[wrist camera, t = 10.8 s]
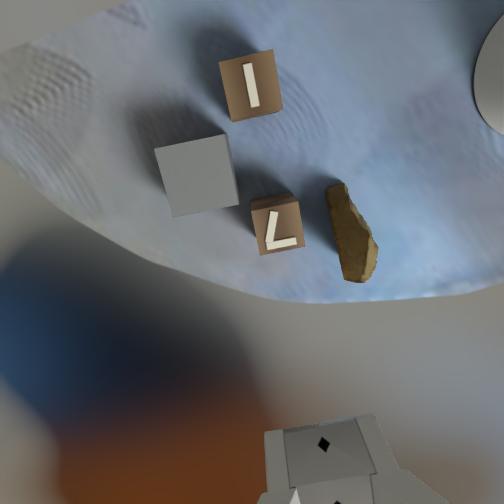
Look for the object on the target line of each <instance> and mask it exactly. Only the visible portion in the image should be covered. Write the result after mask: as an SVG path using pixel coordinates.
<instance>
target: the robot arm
mask: <svg viewBox="0 0 504 504" xmlns="http://www.w3.org/2000/svg"><path fill="white" fill-rule="evenodd" d="M474 93H475V99H476V103H477V106H478V109H479V111H480V113H481V115H482V117H483V118H484V120H485V121H486V122H487V123H488V125H489V126H490V127H492V128H493V129H494V130H495V131H497V132H499V133H500V134H502V135H504V15H503V16H502V17H501V18H500V19H499V20H498V21H497V23H496V24H495V25H494V27H493V28H492V30H491V31H490V33H489V34H488V36H487V38H486V40H485V42H484V44H483V46H482V48H481V51H480V54H479V56H478V60H477V64H476V68H475V75H474ZM264 441H265V458H266V474H267V488H268V489H267V490H268V492H267V493H262V495H261V497H260V499H259V500H258V503H257V504H450V503H449V502H447V501H446V500H445V499H444V498H443V497H441V496H440V495H439V494H437V493H436V492H435V491H434V490H432V489H431V488H430V487H428V486H427V485H426V484H425V483H423V482H422V481H421V480H419V479H418V478H417V477H415V476H414V475H413V474H412V473H410V472H409V471H408V470H400V469H399V467H398V464H397V462H396V460H395V458H394V456H393V454H392V451H391V449H390V447H389V445H388V443H387V441H386V438H385V436H384V434H383V432H382V430H381V428H380V426H379V423H378V421H377V419H376V417H375V416H374V415H373V414H366V415H360V416H355V417H348V418H343V419H338V420H332V421H327V422H322V423H318V424H313V425H307V426H300V427H293V428H286V429H281V430H275V431H269V432H265V436H264Z"/></svg>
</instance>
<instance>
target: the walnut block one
mask: <svg viewBox="0 0 504 504" xmlns="http://www.w3.org/2000/svg"><path fill="white" fill-rule="evenodd" d="M218 63H219V67H220V72H221V76H222V81H223V85H224V90H225V94H226V99H227V104H228V108H229V113H230V117H231V121H232V122H237V121H241V120H245V119H250V118H254V117H258V116H263V115H267V114H272V113H276V112H278V111H280V110H281V109H283V106H282V100H281V94H280V88H279V82H278V76H277V70H276V64H275V58H274V53H273V49H271V50H267V51H263V52H258V53H254V54H250V55H246V56H242V57H238V58H233V59H229V60H225V61H221V62H218Z"/></svg>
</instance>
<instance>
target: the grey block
mask: <svg viewBox="0 0 504 504" xmlns="http://www.w3.org/2000/svg"><path fill="white" fill-rule="evenodd" d="M154 151H155V155H156V159H157V162H158V166H159V169H160V173H161V176H162V180H163V183H164V187H165V190H166V194H167V197H168V201H169V204H170V208H171V211H172V215H173V218H174V217H179V216H184V215H189V214H194V213H199V212H204V211H209V210H214V209H219V208H224V207H229V206H234V205H239V198H240V193H239V188H238V184H237V179H236V174H235V169H234V165H233V160H232V155H231V150H230V145H229V141H228V136H227V134H222V135H218V136H213V137H208V138H203V139H198V140H194V141H189V142H184V143H179V144H175V145H170V146H165V147H160V148H155V149H154Z"/></svg>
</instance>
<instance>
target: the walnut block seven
mask: <svg viewBox="0 0 504 504" xmlns="http://www.w3.org/2000/svg"><path fill="white" fill-rule="evenodd" d="M250 206H251V214H252V219H253V224H254V228H255V233H256V238H257V243H258V247H259V252H260V255H265V254H270V253H275V252H280V251H285V250H290V249H295V248H300V247H305V240H304V234H303V228H302V222H301V215H300V209H299V203H298V201H297V199H296V198H295V197H294V195H293V194H292V193H291V192H287V193H283V194H278V195H273V196H268V197H263V198H259V199H254V200H250Z"/></svg>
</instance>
